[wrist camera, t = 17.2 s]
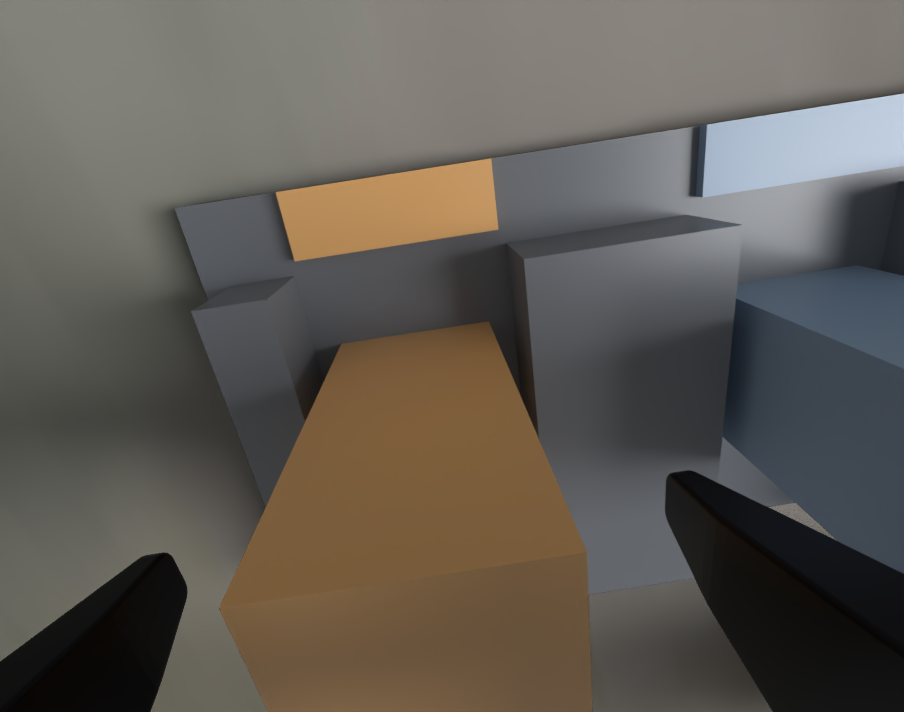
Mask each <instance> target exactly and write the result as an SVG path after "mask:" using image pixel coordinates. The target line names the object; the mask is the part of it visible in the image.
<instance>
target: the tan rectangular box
mask: <svg viewBox="0 0 904 712" xmlns="http://www.w3.org/2000/svg"><path fill="white" fill-rule="evenodd" d="M219 610H220V612H221V614H222V616H223V618H224V620H225V622H226V624H227V626H228V629H229V631H230V633H231V635H232V637H233V639H234V641H235V643H236V645H237V647H238V650H239V652H240V654H241V656H242V658H243V660H244V662H245V664H246V666H247V668H248V670H249V673H250V675H251V677H252V679H253V681H254V683H255V685H256V687H257V689H258V691H259V694H260V696H261V698H262V700H263V702H264V704H265V706H266V708H267V710H268V712H593V709H592V681H591V652H590V623H589V595H588V566H587V551H586V549H585V546H584V544H583V542H582V539H581V537H580V535H579V532H578V530H577V528H576V525H575V523H574V521H573V518H572V516H571V513H570V511H569V509H568V506H567V504H566V502H565V499H564V497H563V495H562V492H561V490H560V488H559V485H558V483H557V481H556V478H555V476H554V474H553V471H552V469H551V466H550V464H549V462H548V459H547V457H546V455H545V452H544V450H543V448H542V445H541V443H540V441H539V438H538V436H537V434H536V431H535V429H534V426H533V424H532V422H531V419H530V417H529V415H528V412H527V410H526V408H525V405H524V403H523V401H522V398H521V396H520V394H519V391H518V389H517V387H516V384H515V382H514V379H513V377H512V375H511V372H510V370H509V368H508V365H507V363H506V361H505V358H504V356H503V354H502V351H501V349H500V347H499V344H498V342H497V339H496V337H495V335H494V332H493V330H492V328H491V325H490V323H489V321H487V322H481V323H474V324H468V325H461V326H455V327H448V328H442V329H435V330H428V331H422V332H415V333H409V334H402V335H396V336H389V337H383V338H376V339H369V340H363V341H356V342H350V343H343V344H341V346H340V348H339V350H338V352H337V354H336V356H335V359H334V361H333V363H332V365H331V367H330V369H329V372H328V374H327V376H326V378H325V380H324V382H323V385H322V387H321V389H320V391H319V393H318V395H317V398H316V400H315V402H314V404H313V406H312V408H311V411H310V413H309V415H308V417H307V419H306V421H305V423H304V426H303V428H302V430H301V432H300V434H299V436H298V439H297V441H296V443H295V445H294V447H293V449H292V452H291V454H290V456H289V458H288V460H287V462H286V465H285V467H284V469H283V471H282V473H281V475H280V478H279V480H278V482H277V484H276V486H275V488H274V491H273V493H272V495H271V497H270V499H269V501H268V503H267V506H266V508H265V510H264V512H263V514H262V516H261V519H260V521H259V523H258V525H257V527H256V529H255V532H254V534H253V536H252V538H251V540H250V542H249V545H248V547H247V549H246V551H245V553H244V555H243V558H242V560H241V562H240V564H239V566H238V568H237V570H236V573H235V575H234V577H233V579H232V581H231V583H230V586H229V588H228V590H227V592H226V594H225V596H224V599H223V601H222V603H221V605H220V607H219Z"/></svg>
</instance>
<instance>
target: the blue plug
mask: <svg viewBox="0 0 904 712" xmlns="http://www.w3.org/2000/svg"><path fill="white" fill-rule="evenodd" d="M722 437H723V438H724V439H726V440H727V441H728V442H729V443H730V444H731V445H732V446H733V447H734V448H736V449H737V450H738V451H739V452H740V453H741V454H742V455H743V456H744V457H746V458H747V459H748V460H749V461H750V462H751V463H752V464H753V465H754V466H756V467H757V468H758V469H759V470H760V471H761V472H762V473H763V474H764V475H765V476H767V477H768V478H769V479H770V480H771V481H772V482H773V483H774V484H775V485H777V486H778V487H779V488H780V489H781V490H782V491H783V492H784V493H785V494H787V495H788V496H789V497H790V498H791V499H792V500H793V501H794V502H795V503H797V504H798V505H799V506H800V507H801V508H802V509H803V510H804V511H805V512H807V513H808V514H809V515H810V516H811V517H812V518H813V519H814V520H815V521H817V522H818V523H819V524H820V525H821V526H822V527H823V528H824V529H825V530H827V531H828V532H829V533H830V534H831V535H832V536H833V537H834V538H835V539H837V540H838V541H839V542H840V543H842V544H844V545H846V546H848V547H850V548H852V549H855V550H857V551H859V552H861V553H863V554H865V555H867V556H869V557H871V558H873V559H875V560H877V561H879V562H881V563H883V564H885V565H887V566H889V567H891V568H893V569H895V570H897V571H900V572H902V573H904V276H903V275H898V274H894V273H889V272H885V271H881V270H876V269H872V268H867V267H863V266H858V265H855V266H849V267H842V268H836V269H829V270H822V271H816V272H809V273H802V274H796V275H789V276H782V277H776V278H769V279H762V280H756V281H749V282H743V283H737V293H736V303H735V313H734V324H733V334H732V344H731V354H730V364H729V374H728V384H727V395H726V405H725V415H724V425H723V435H722Z"/></svg>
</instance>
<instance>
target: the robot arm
mask: <svg viewBox="0 0 904 712" xmlns="http://www.w3.org/2000/svg"><path fill="white" fill-rule="evenodd" d="M665 515H666V519H667V522H668V524H669V526H670V528H671V530H672V532H673V534H674V536H675V539H676V541H677V543H678V545H679V547H680V549H681V551H682V553H683V555H684V557H685V559H686V561H687V563H688V565H689V568H690V570H691V572H692V574H693V576H694V578H695V580H696V582H697V584H698V586H699V588H700V590H701V592H702V594H703V596H704V598H705V600H706V602H707V604H708V606H709V608H710V609H711V611H712V613H713V615H714V616H715V618H716V620H717V621H718V623H719V625H720V626H721V628H722V629H723V631H724V633H725V634H726V636H727V638H728V639H729V641H730V643H731V644H732V646H733V647H734V649H735V651H736V652H737V654H738V656H739V657H740V659H741V661H742V662H743V664H744V665H745V667H746V669H747V670H748V672H749V674H750V675H751V677H752V679H753V680H754V682H755V683H756V685H757V687H758V688H759V690H760V692H761V693H762V695H763V696H764V698H765V700H766V701H767V703H768V705H769V706H770V708H771V710H772V711H773V712H904V573H902V572H900V571H897V570H895V569H893V568H891V567H889V566H887V565H885V564H883V563H881V562H879V561H877V560H875V559H873V558H871V557H869V556H867V555H865V554H863V553H861V552H859V551H857V550H855V549H852V548H850V547H848V546H846V545H844V544H842V543H840V542H838V541H836V540H834V539H832V538H830V537H828V536H826V535H824V534H822V533H820V532H818V531H816V530H814V529H812V528H809V527H807V526H805V525H803V524H801V523H799V522H797V521H795V520H793V519H791V518H789V517H787V516H785V515H783V514H781V513H779V512H777V511H775V510H773V509H771V508H769V507H766V506H764V505H762V504H760V503H758V502H756V501H754V500H752V499H750V498H748V497H746V496H744V495H742V494H740V493H738V492H736V491H734V490H732V489H730V488H728V487H726V486H723V485H721V484H719V483H717V482H715V481H713V480H711V479H709V478H707V477H705V476H703V475H701V474H699V473H697V472H695V471H691V470H686V471H680V472H673V473H670V474H669V475H668V476H667V478H666V491H665ZM186 599H187V585H186V582H185V580H184V578H183V576H182V574H181V573H180V571H179V569H178V567H177V565H176V563H175V561H174V559H173V557H172V556H171V555H170V554H168V553H157V554H151V555H146V556H143V557H141V558H139V559H138V560H137V561H135V562H134V563H132V564H131V565H130V566H128V567H127V568H126V569H124V570H123V571H122V572H120V573H119V574H118V575H116V576H115V577H114V578H112V579H111V580H110V581H108V582H107V583H105V584H104V585H103V586H101V587H100V588H99V589H97V590H96V591H95V592H93V593H92V594H91V595H89V596H88V597H87V598H85V599H84V600H83V601H81V602H80V603H79V604H77V605H76V606H74V607H73V608H72V609H70V610H69V611H68V612H66V613H65V614H64V615H62V616H61V617H60V618H58V619H57V620H56V621H54V622H53V623H52V624H50V625H49V626H48V627H46V628H45V629H43V630H42V631H41V632H39V633H38V634H37V635H35V636H34V637H33V638H31V639H30V640H29V641H27V642H26V643H25V644H23V645H22V646H21V647H19V648H18V649H16V650H15V651H14V652H12V653H11V654H10V655H8V656H7V657H6V658H4V659H3V660H2V661H0V712H150V711H151V709H152V706H153V703H154V701H155V698H156V695H157V693H158V690H159V687H160V684H161V681H162V678H163V675H164V672H165V668H166V665H167V662H168V658H169V655H170V652H171V649H172V645H173V642H174V639H175V635H176V632H177V629H178V625H179V622H180V619H181V616H182V612H183V609H184V606H185V602H186Z"/></svg>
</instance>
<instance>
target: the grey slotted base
mask: <svg viewBox="0 0 904 712" xmlns="http://www.w3.org/2000/svg"><path fill="white" fill-rule="evenodd" d="M174 209H175V211H176V214H177V217H178V220H179V222H180V225H181V228H182V231H183V233H184V236H185V239H186V242H187V244H188V247H189V250H190V253H191V255H192V258H193V261H194V264H195V266H196V269H197V272H198V275H199V277H200V280H201V283H202V286H203V289H204V291H205V294H206V297H207V300H208V301H207V302H205V303H203V304H202V305H200V306H199V307H197V308H195V309H194V310H192V311H191V313H192V316H193V319H194V321H195V324H196V326H197V329H198V332H199V334H200V337H201V340H202V342H203V345H204V347H205V350H206V353H207V355H208V358H209V360H210V363H211V366H212V368H213V371H214V374H215V376H216V379H217V381H218V384H219V387H220V389H221V392H222V395H223V397H224V400H225V402H226V405H227V408H228V410H229V413H230V416H231V418H232V421H233V423H234V426H235V429H236V431H237V434H238V437H239V439H240V442H241V444H242V447H243V450H244V452H245V455H246V458H247V460H248V463H249V465H250V468H251V471H252V473H253V476H254V479H255V481H256V484H257V486H258V489H259V492H260V494H261V497H262V500H263V502H264V505H265V507H266V506H267V503H268V501H269V499H270V497H271V495H272V493H273V491H274V488H275V486H276V484H277V482H278V480H279V478H280V475H281V473H282V471H283V469H284V467H285V465H286V462H287V460H288V458H289V456H290V454H291V452H292V449H293V447H294V445H295V443H296V441H297V439H298V436H299V434H300V432H301V430H302V428H303V426H304V423H305V421H306V419H307V417H308V415H309V413H310V411H311V408H312V406H313V404H314V402H315V400H316V398H317V395H318V393H319V391H320V389H321V387H322V385H323V382H324V380H325V378H326V376H327V374H328V372H329V369H330V367H331V365H332V363H333V361H334V359H335V356H336V354H337V352H338V350H339V348H340V346H341V344H343V343H350V342H356V341H363V340H369V339H376V338H383V337H389V336H396V335H402V334H409V333H415V332H422V331H428V330H435V329H442V328H448V327H455V326H461V325H468V324H474V323H481V322H487V321H489V323H490V325H491V328H492V330H493V332H494V335H495V337H496V339H497V342H498V344H499V347H500V349H501V351H502V354H503V356H504V358H505V361H506V363H507V365H508V368H509V370H510V372H511V375H512V377H513V379H514V382H515V384H516V387H517V389H518V391H519V394H520V396H521V398H522V401H523V403H524V405H525V408H526V410H527V412H528V415H529V417H530V419H531V422H532V424H533V426H534V429H535V431H536V434H537V436H538V438H539V441H540V443H541V445H542V448H543V450H544V452H545V455H546V457H547V459H548V462H549V464H550V466H551V469H552V471H553V474H554V476H555V478H556V481H557V483H558V485H559V488H560V490H561V492H562V495H563V497H564V499H565V502H566V504H567V506H568V509H569V511H570V513H571V516H572V518H573V521H574V523H575V525H576V528H577V530H578V532H579V535H580V537H581V539H582V542H583V544H584V546H585V549H586V551H587V566H588V595H590V594H596V593H602V592H609V591H615V590H622V589H628V588H635V587H641V586H647V585H654V584H660V583H667V582H673V581H680V580H686V579H692V578H694V576H693V574H692V572H691V570H690V568H689V565H688V563H687V561H686V559H685V557H684V555H683V553H682V551H681V549H680V547H679V545H678V543H677V541H676V539H675V536H674V534H673V532H672V530H671V528H670V526H669V524H668V522H667V519H666V515H665V491H666V478H667V476H668V475H669V474H670V473H673V472H680V471H686V470H691V471H695V472H697V473H699V474H701V475H703V476H705V477H707V478H709V479H711V480H713V481H715V482H717V483H719V484H721V485H723V486H726V487H728V488H730V489H732V490H734V491H736V492H738V493H740V494H742V495H744V496H746V497H748V498H750V499H752V500H754V501H756V502H758V503H760V504H762V505H764V506H766V507H771V506H777V505H783V504H790V503H795V502H794V501H793V500H792V499H791V498H790V497H789V496H788V495H787V494H785V493H784V492H783V491H782V490H781V489H780V488H779V487H778V486H777V485H775V484H774V483H773V482H772V481H771V480H770V479H769V478H768V477H767V476H765V475H764V474H763V473H762V472H761V471H760V470H759V469H758V468H757V467H756V466H754V465H753V464H752V463H751V462H750V461H749V460H748V459H747V458H746V457H744V456H743V455H742V454H741V453H740V452H739V451H738V450H737V449H736V448H734V447H733V446H732V445H731V444H730V443H729V442H728V441H727V440H726V439H724V438H723V437H722V435H723V425H724V415H725V405H726V395H727V384H728V374H729V364H730V354H731V344H732V334H733V324H734V313H735V303H736V293H737V283H743V282H749V281H756V280H762V279H769V278H776V277H782V276H789V275H796V274H802V273H809V272H816V271H822V270H829V269H836V268H842V267H849V266H855V265H858V266H863V267H867V268H872V269H876V270H881V271H885V272H889V273H894V274H898V275H903V276H904V93H903V94H897V95H891V96H884V97H878V98H872V99H865V100H859V101H853V102H846V103H840V104H833V105H827V106H821V107H814V108H808V109H802V110H795V111H789V112H782V113H776V114H770V115H763V116H757V117H751V118H744V119H738V120H732V121H725V122H719V123H712V124H706V125H700V126H693V127H687V128H681V129H674V130H668V131H661V132H655V133H649V134H642V135H636V136H630V137H623V138H617V139H610V140H604V141H598V142H591V143H585V144H579V145H572V146H566V147H560V148H553V149H547V150H540V151H534V152H528V153H521V154H515V155H509V156H502V157H496V158H489V159H483V160H477V161H470V162H464V163H458V164H451V165H445V166H439V167H432V168H426V169H419V170H413V171H407V172H400V173H394V174H388V175H381V176H375V177H368V178H362V179H356V180H349V181H343V182H337V183H330V184H324V185H318V186H311V187H305V188H298V189H292V190H286V191H279V192H273V193H267V194H260V195H254V196H247V197H241V198H235V199H228V200H222V201H216V202H209V203H203V204H196V205H190V206H184V207H178V208H174Z"/></svg>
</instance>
